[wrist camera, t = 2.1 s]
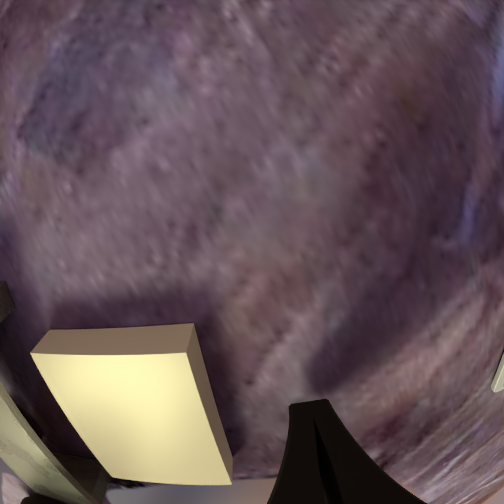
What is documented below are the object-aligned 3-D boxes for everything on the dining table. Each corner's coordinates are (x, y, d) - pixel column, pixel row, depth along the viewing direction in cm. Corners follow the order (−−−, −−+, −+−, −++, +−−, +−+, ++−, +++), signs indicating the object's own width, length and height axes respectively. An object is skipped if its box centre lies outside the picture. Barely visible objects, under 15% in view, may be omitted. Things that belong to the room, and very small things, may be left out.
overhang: (5, 281, 10) (-42, 318, 7) (112, 471, 14) (100, 511, 11) (-52, 288, 10) (-89, 316, 7) (49, 458, 14) (34, 491, 11)
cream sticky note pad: (193, 322, 10) (186, 352, 9) (232, 457, 13) (232, 484, 11) (49, 329, 10) (30, 352, 9) (119, 454, 13) (112, 477, 11)
